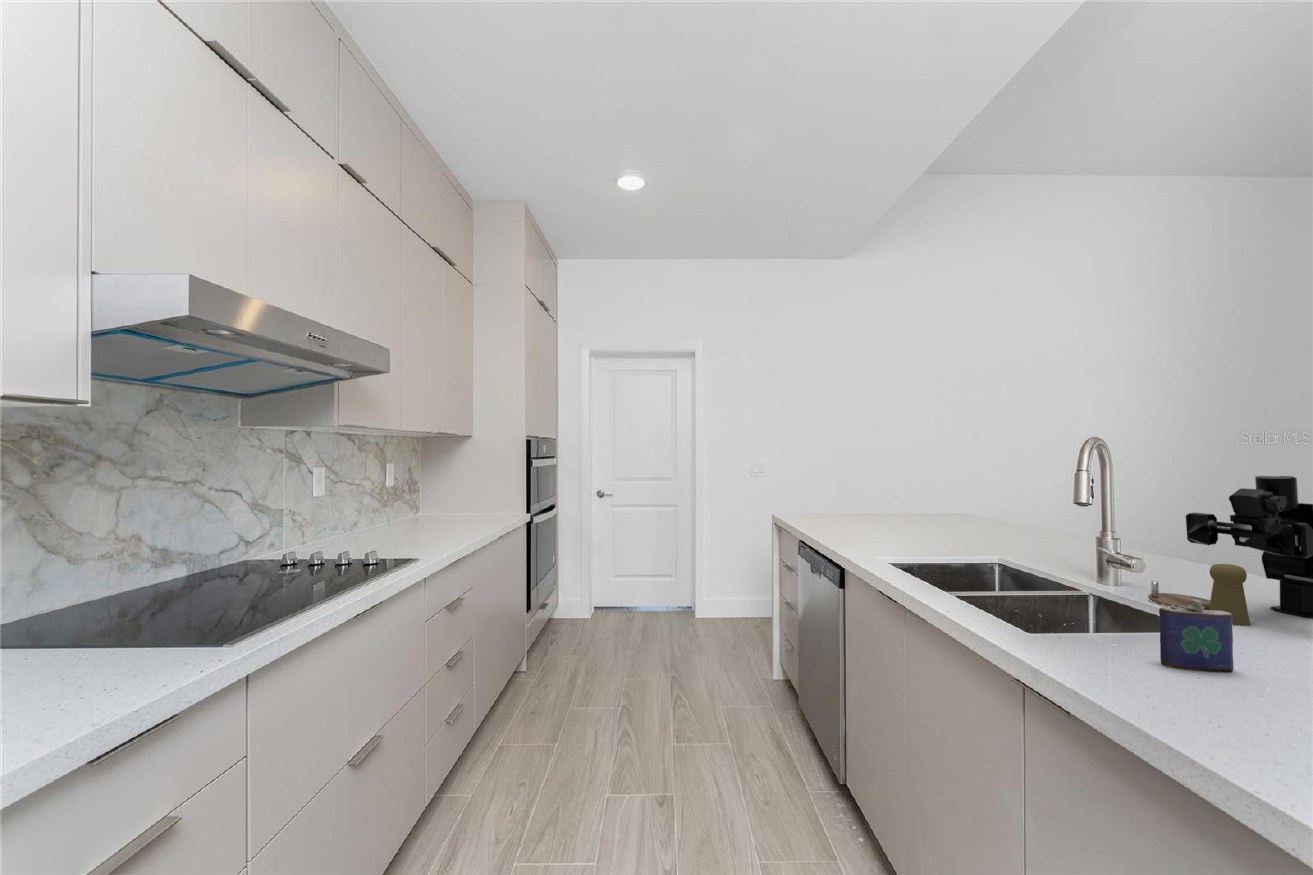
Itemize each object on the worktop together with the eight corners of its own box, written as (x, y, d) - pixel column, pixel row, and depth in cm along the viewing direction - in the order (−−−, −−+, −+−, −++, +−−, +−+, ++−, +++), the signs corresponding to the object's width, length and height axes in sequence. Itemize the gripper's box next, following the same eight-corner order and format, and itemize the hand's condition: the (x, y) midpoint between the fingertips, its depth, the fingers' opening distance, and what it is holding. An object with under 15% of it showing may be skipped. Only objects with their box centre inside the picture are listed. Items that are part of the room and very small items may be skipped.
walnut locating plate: (1170, 594, 133) (1170, 576, 133) (1229, 608, 122) (1229, 587, 122) (1135, 599, 129) (1135, 579, 129) (1193, 613, 119) (1193, 592, 119)
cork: (1259, 625, 111) (1259, 568, 111) (1227, 625, 111) (1226, 568, 111) (1229, 616, 117) (1228, 561, 117) (1198, 616, 117) (1198, 561, 117)
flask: (1227, 667, 91) (1226, 598, 91) (1239, 674, 88) (1238, 604, 88) (1156, 661, 94) (1155, 595, 94) (1166, 668, 91) (1166, 600, 91)
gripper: (1210, 485, 125) (1159, 493, 120) (1332, 492, 107) (1276, 502, 102) (1214, 536, 125) (1162, 546, 121) (1335, 552, 107) (1281, 565, 103)
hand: (1216, 539), depth 112 cm, fingers open, 9 cm apart
